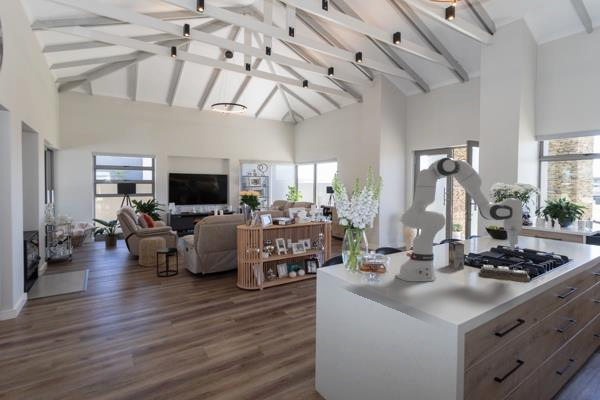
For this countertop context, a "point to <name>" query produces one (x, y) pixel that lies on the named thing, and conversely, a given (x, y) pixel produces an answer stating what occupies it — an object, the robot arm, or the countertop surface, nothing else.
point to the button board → (504, 274)
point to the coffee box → (456, 255)
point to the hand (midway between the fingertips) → (512, 250)
